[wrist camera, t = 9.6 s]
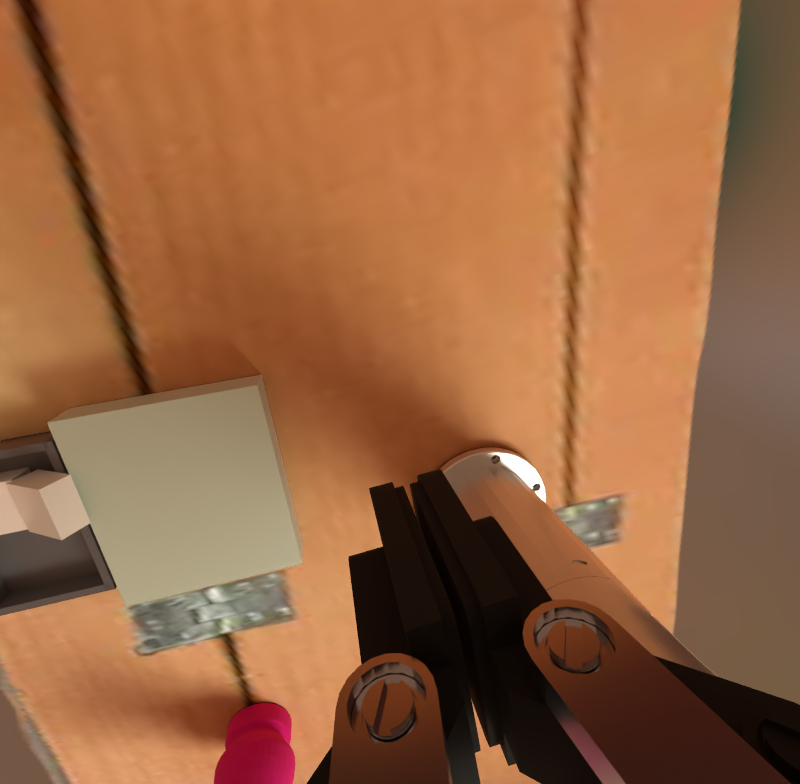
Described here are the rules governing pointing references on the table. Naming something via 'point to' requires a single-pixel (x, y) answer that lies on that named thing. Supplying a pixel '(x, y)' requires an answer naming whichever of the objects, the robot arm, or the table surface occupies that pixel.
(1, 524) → the tile rear
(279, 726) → the pepper mill
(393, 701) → the robot arm
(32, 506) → the tile front
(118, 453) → the beige flat slab
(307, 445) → the table surface
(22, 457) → the box
